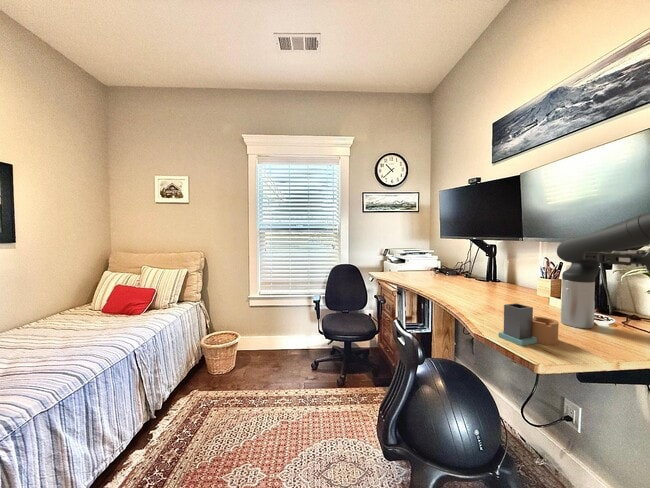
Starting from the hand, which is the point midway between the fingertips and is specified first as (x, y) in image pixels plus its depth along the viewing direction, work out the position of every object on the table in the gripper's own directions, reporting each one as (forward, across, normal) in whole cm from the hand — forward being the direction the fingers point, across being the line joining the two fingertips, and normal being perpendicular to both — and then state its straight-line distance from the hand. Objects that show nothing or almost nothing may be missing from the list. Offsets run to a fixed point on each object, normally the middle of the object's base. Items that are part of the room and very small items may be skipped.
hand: (593, 255), depth 75 cm
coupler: (+17, -5, -28) cm, 34 cm away
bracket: (+19, +4, -30) cm, 36 cm away
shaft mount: (+17, -5, -30) cm, 35 cm away
